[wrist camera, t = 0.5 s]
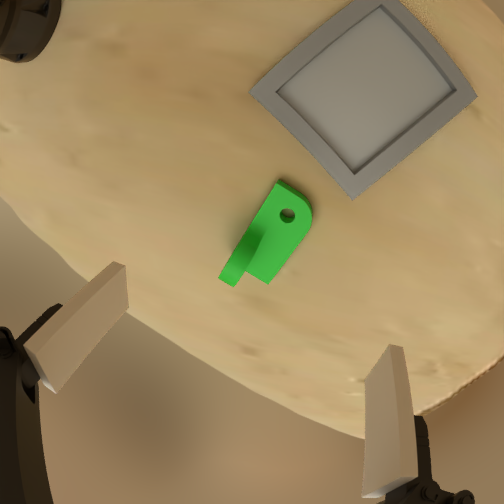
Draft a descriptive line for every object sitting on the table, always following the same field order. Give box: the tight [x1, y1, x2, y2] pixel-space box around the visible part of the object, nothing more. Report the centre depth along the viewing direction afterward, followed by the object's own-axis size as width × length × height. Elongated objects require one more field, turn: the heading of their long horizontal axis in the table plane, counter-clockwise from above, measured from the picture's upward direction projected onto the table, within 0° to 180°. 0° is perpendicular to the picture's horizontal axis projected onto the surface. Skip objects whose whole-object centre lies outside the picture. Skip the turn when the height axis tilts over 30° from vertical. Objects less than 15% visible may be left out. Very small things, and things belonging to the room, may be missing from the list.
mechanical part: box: [218, 180, 312, 287], centre depth 33 cm, size 12×6×8 cm, turn 151°
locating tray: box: [248, 0, 478, 200], centre depth 25 cm, size 16×20×2 cm
